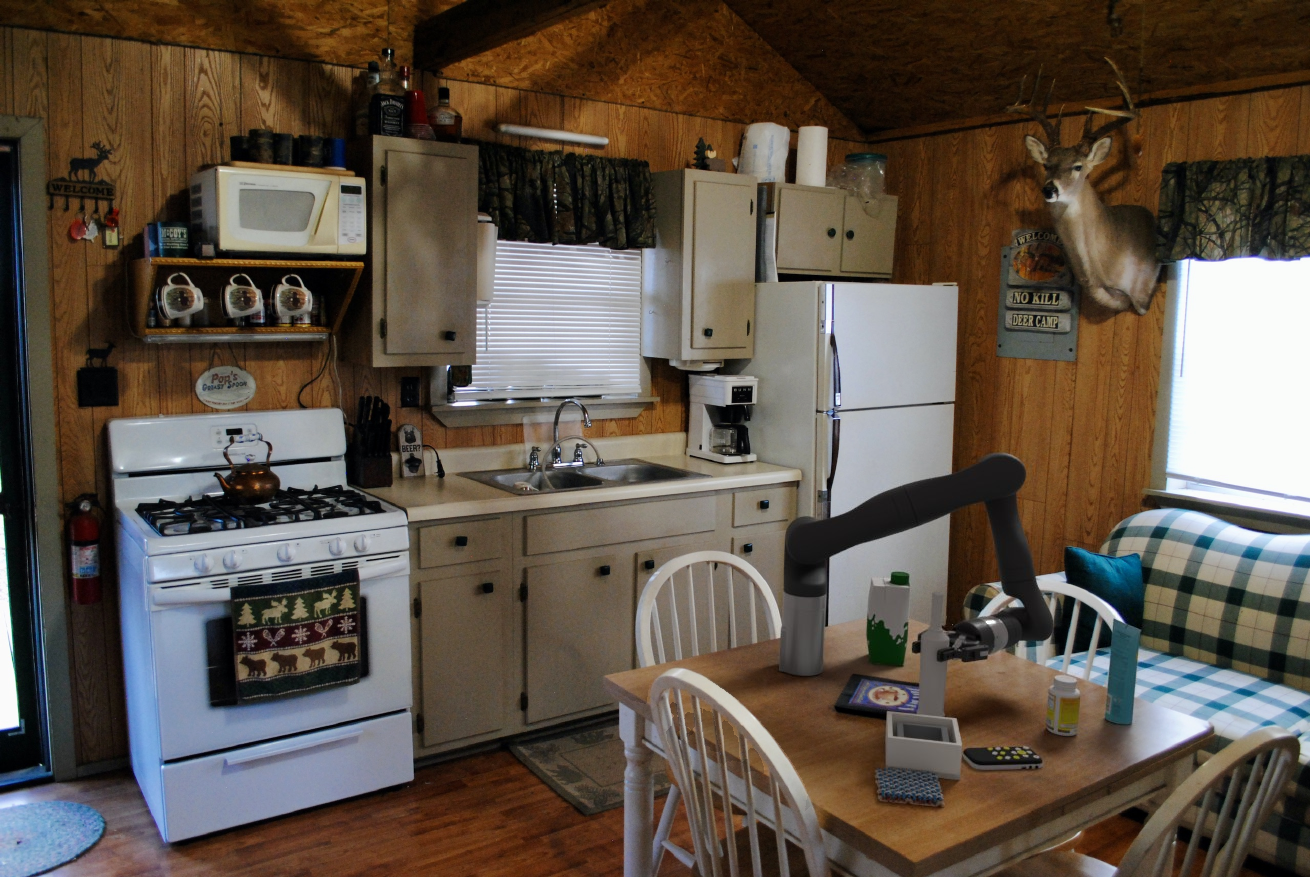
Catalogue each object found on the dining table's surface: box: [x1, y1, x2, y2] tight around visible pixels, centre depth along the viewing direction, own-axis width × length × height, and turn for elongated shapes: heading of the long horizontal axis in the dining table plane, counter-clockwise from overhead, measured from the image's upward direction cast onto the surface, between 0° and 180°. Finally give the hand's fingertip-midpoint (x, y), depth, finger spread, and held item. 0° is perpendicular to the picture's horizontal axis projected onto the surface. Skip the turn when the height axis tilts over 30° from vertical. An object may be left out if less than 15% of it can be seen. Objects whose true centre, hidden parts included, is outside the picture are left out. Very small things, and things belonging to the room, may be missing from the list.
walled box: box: [884, 710, 963, 781], centre depth 175 cm, size 12×12×6 cm
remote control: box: [962, 745, 1043, 771], centre depth 176 cm, size 6×13×2 cm, turn 97°
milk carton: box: [865, 571, 911, 667], centre depth 226 cm, size 9×9×20 cm
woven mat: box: [874, 766, 946, 808], centre depth 164 cm, size 10×11×2 cm
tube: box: [1104, 618, 1142, 725], centre depth 195 cm, size 7×5×19 cm, turn 20°
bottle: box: [916, 591, 949, 717], centre depth 191 cm, size 5×5×25 cm
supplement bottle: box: [1045, 674, 1081, 737], centre depth 189 cm, size 6×6×10 cm
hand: (926, 652), depth 190 cm, fingers closed on bottle, 5 cm apart
